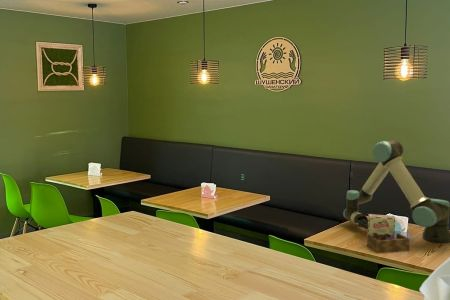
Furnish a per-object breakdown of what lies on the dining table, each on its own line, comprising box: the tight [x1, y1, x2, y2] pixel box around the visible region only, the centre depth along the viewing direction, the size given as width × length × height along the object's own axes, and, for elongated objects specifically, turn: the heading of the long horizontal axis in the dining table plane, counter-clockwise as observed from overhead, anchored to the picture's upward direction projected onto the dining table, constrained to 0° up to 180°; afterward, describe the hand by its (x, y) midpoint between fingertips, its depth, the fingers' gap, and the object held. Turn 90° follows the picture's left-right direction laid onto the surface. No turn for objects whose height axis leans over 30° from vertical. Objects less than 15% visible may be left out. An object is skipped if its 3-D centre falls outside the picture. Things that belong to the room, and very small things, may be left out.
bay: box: [366, 232, 411, 253], centre depth 247 cm, size 19×10×6 cm, turn 101°
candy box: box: [367, 213, 396, 240], centre depth 252 cm, size 14×6×16 cm, turn 75°
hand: (379, 230), depth 255 cm, fingers closed
